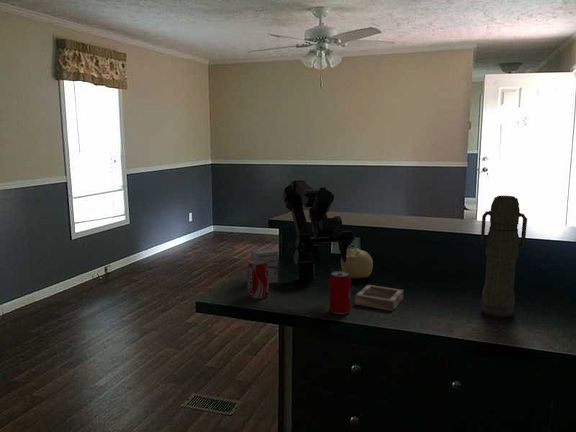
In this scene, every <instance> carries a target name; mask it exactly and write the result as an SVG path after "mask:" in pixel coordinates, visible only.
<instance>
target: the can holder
mask: <svg viewBox="0 0 576 432" xmlns="http://www.w3.org/2000/svg"><path fill="white" fill-rule="evenodd" d="M403 300H404V289H400V288H392V287H387V286H379V285H372V284H367V285H366V286H365V287H364V288H362V289H361V290H360V291H358V292H357V293H356V294H355V300H354V301H355V302H354V303H355V305H357V306H363V307H367V308H368V307H369V308H374V309H381V310H385V311H392V312H394V310H395V309H396V308H397V307H398V305H399V304H401V302H402V301H403Z"/></svg>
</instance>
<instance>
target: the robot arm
mask: <svg viewBox="0 0 576 432" xmlns="http://www.w3.org/2000/svg"><path fill="white" fill-rule="evenodd" d="M334 201H335V195H334V193H333V192H331V191H330V190H328V189H327V188H326V187H319V189H317V188H316V189H315V188H312V187H311V186H310V185H308V184H307V182H306V181H305V180H302V179H300V180H296V179H295V180H293V181H291V182H290V184H289V185H287V186H286V187H284V189H283V192H282V202H283V203H284V205H285V208H286V209H287V210H288V211H290V212H291V215H292V216H291V217H292V220H293V223H294V224H293V225H294V228H295V229H294V230H295V232H296V236H297V237H296V240H295V241H294V242H295V248H296V249H295V252H294V254H293V263H294V264H295V265H296V266H298V276H297V277H296V278H294V280H295V281H299V282H305V283H312V282H314V281H315V280H317V279H318V278H319V277H318V276H316V275H315V265H319V264H320V262H321V255H322V250H321V247H319V244H328V243H337V245H338V251H339V253H340V256H341V258H342V259H343V261H344V262H346V255H347V251H348V248H349V247H350V246H351V245H352V243H353V241H354V240H355V238H356V236H355V232H354V230H353V231H352V230H341V231H340V233H339V235H334V234H335V233H336V229H338V227H339V228H340V227H341V226H343V220H342V218H341V215H335V216H333V217H328V213H329V212H330V209H331V207H332V204H333V202H334ZM304 208H309V210H308V219H310V220H309V221H310V223H311V226H312V228H311V231H312V233H313V234H314V236H312V234H311V233H310V229H309V227H308V226H309V225H308V222H307V221H308V220H307V218H306V215H305V211H304Z"/></svg>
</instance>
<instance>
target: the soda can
mask: <svg viewBox="0 0 576 432" xmlns="http://www.w3.org/2000/svg"><path fill="white" fill-rule="evenodd" d="M246 267H247V268H246V280H247V281H246V283H247V288H246V289H247V295H248V297H250V298H252V299H255V300H260V299H264V298H266V297H267V296H269V290H270V286H269V285H270V283H269V270H268V265H267V263H266V260H263V259H253V260H251V259H250V260H248V265H247V266H246Z"/></svg>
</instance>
